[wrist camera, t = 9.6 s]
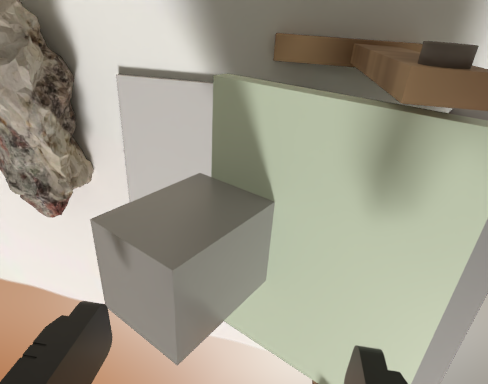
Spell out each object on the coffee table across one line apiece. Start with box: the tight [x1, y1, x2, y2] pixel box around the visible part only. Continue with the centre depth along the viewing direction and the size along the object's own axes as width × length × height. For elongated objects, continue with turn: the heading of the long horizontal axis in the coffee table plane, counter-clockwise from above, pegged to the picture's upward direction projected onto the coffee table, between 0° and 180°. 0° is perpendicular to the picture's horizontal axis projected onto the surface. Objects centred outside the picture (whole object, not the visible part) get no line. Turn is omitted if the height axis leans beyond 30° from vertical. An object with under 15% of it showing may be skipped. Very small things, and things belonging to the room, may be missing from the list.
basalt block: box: [90, 173, 275, 365], centre depth 15 cm, size 4×4×6 cm
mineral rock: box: [0, 0, 94, 217], centre depth 22 cm, size 15×8×4 cm, turn 178°
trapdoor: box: [211, 74, 488, 384], centre depth 16 cm, size 12×14×5 cm
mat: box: [116, 74, 213, 202], centre depth 24 cm, size 13×12×1 cm
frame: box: [273, 33, 488, 384], centre depth 18 cm, size 8×18×12 cm, turn 177°
